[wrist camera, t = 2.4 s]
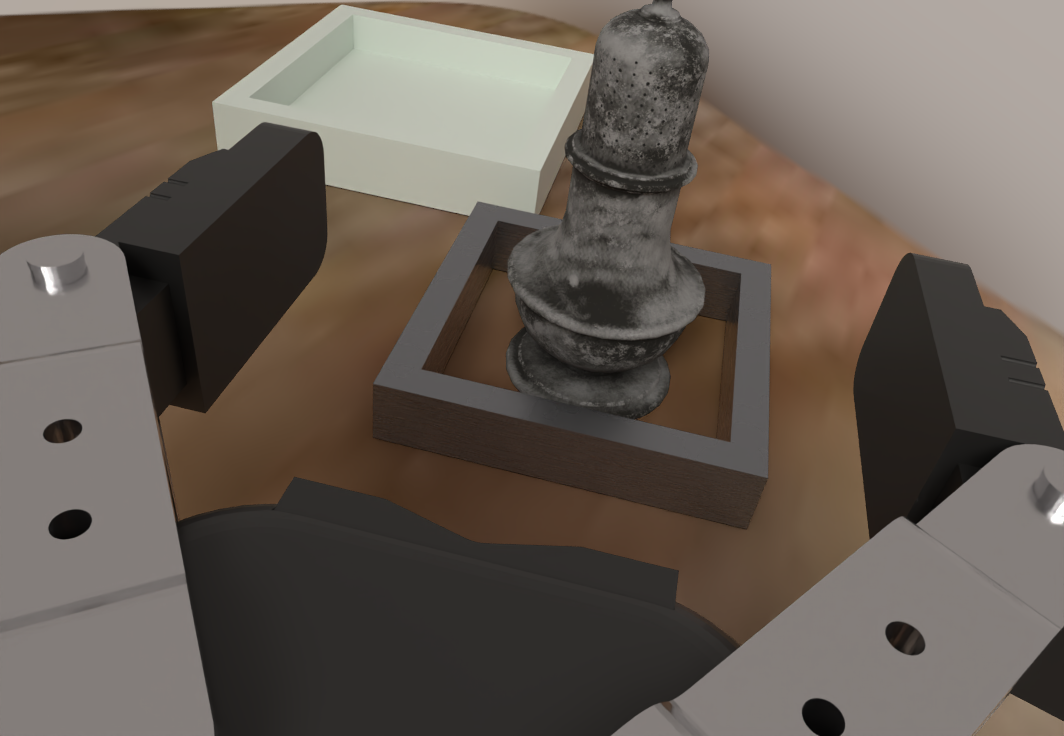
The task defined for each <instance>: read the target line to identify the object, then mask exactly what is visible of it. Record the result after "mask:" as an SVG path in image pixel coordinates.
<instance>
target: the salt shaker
mask: <svg viewBox="0 0 1064 736" xmlns="http://www.w3.org/2000/svg"><path fill="white" fill-rule="evenodd" d="M708 62H709V49H708V46H707V44H706V42H705V39H704V37H703V35H702V33H701V32H700V31H699V30H698V29H697V28H696V27H695V26H694V25H693V24H692V23H690V22H689V21H688V20H686V19H684V18H682V17H681V16H680V14H679V12H678V11H677V10H675V9H673V8H672V0H653V3H652V4H648V5H644V6H643V7H642V8H641V9H634V10H630V11H627V12H624V13H622V14H620V15H618V16H616V17H614V18H613V19H611V20H610V21H609V22H608V23H607V24H606V25H605V26H604V27H603V28H602V30H601V32H600V35H599V37H598V40H597V42H596V46H595V52H594V58H593V64H592V70H591V77H590V83H589V89H588V95H587V101H586V107H585V114H584V120H583V126H582V129H580V130H577V131H576V132H574V133H573V134H572V135H571V136H569V137H568V139H567V141H566V143H565V147H564V148H565V154H566V157H567V158H568V160H569V161H570V163H571V164H572V165H573V170H572V176H571V182H570V189H569V195H568V201H567V207H566V212H565V214H564V217H563V219H562V221H561V223H560V224H558V225H554V226H549V227H545V228H542V229H540V230H538V231H536V232H534V233H532V234H529V235H527V236H526V237H525V238H524V239H523V240H521V241H520V242H519V243H518V244H517V245H516V246H515V247H514V248H513V250H512V252H511V254H510V257H509V259H508V262H507V267H508V279H509V281H510V283H511V285H512V287H513V290H514V292H515V296H516V304H517V307H518V310H519V313H520V316H521V318H522V321H523V323H524V326H525V327H524V328H522V329H521V330H520V331H519V332H518V333H517V334H516V335H515V336H514V337H513V338H512V340H511V342H510V344H509V347H508V349H507V352H506V369H507V372H508V374H509V376H510V379H511V381H512V383H513V384H514V386H515V387H516V388H517V389H518V390H519V391H520V393H524V394H528V395H532V396H536V397H541V398H545V399H549V400H553V401H557V402H562V403H566V404H570V405H574V406H579V407H583V408H587V409H591V410H596V411H600V412H604V413H608V414H612V415H617V416H621V417H625V418H629V419H634V420H635V419H637V418H640V417H643V416H645V415H647V414H648V413H650V412H651V411H652V410H654V409H655V408H657V407H658V406H659V405H660V404H661V402H662V401H663V399H664V398H665V396H666V395H667V393H668V389H669V383H670V377H671V376H670V372H669V368H668V364H667V362H666V360H665V359H664V357H663V354H664V353H665V352H666V351H667V350H668V349H669V348H670V346H671V345H672V344H673V343H674V342H675V341H676V340H677V339H678V337H679V336H680V334H681V333H682V332H683V330H684V329H685V327H686V325H687V324H689V323H690V322H692V321H693V320H694V319H695V318H696V317H697V315H698V314H699V312H700V311H701V309H702V308H703V305H704V299H705V291H706V289H705V286H704V283H703V280H702V277H701V275H700V273H699V272H698V271H697V269H696V268H695V267H694V265H693V264H692V263H691V261H690V260H689V259H688V258H687V257H685V256H684V255H683V254H682V253H680V252H679V251H678V250H677V249H675V248H674V247H672V246H671V245H670V229H671V225H672V221H673V217H674V213H675V209H676V205H677V201H678V197H679V193H680V189H681V187H683V186H685V185H687V184H689V183H690V182H691V181H692V180H693V179H694V177H695V176H696V173H697V167H698V165H697V162H696V160H695V157H694V156H693V155H692V153H691V152H690V151H689V150H688V145H689V141H690V137H691V133H692V129H693V125H694V121H695V116H696V112H697V108H698V104H699V100H700V96H701V92H702V88H703V83H704V80H705V76H706V72H707V68H708Z"/></svg>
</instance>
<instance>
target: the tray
mask: <svg viewBox="0 0 1064 736" xmlns="http://www.w3.org/2000/svg"><path fill="white" fill-rule="evenodd" d="M593 58H594V54H590V53H585V52H580V51H575V50H569V49H564V48H559V47H554V46H549V45H544V44H539V43H534V42H529V41H524V40H519V39H514V38H509V37H504V36H498V35H493V34H488V33H483V32H478V31H473V30H468V29H463V28H458V27H453V26H448V25H443V24H438V23H432V22H427V21H422V20H417V19H412V18H407V17H402V16H397V15H392V14H387V13H382V12H377V11H372V10H366V9H361V8H356V7H351V6H346V5H340V6H339V7H337V8H336V9H335V10H334V11H332V12H331V13H330V14H328V15H327V16H326V17H324V18H323V19H322V20H320V21H319V22H318V23H316V24H315V25H314V26H312V27H311V28H310V29H308V30H307V31H306V32H304V33H303V34H302V35H300V36H299V37H298V38H296V39H295V40H294V41H292V42H291V43H290V44H288V45H287V46H286V47H284V48H283V49H282V50H280V51H279V52H278V53H276V54H275V55H274V56H272V57H271V58H270V59H268V60H267V61H266V62H264V63H263V64H262V65H260V66H259V67H258V68H256V69H255V70H254V71H252V72H251V73H250V74H249V75H247V76H246V77H245V78H243V79H242V80H241V81H239V82H238V83H237V84H235V85H234V86H233V87H231V88H230V89H229V90H227V91H226V92H225V93H223V94H222V95H221V96H219V97H218V98H217V99H215V100H214V101H213V102H212V106H213V114H214V122H215V130H216V139H217V147H218V150H221V149H227V150H229V149H230V148H231V147H232V146H234V145H235V144H236V143H237V142H238V141H240V140H241V139H242V138H243V137H244V136H246V135H247V134H248V133H249V132H250V131H252V130H253V129H254V128H255V127H257V126H258V125H259V124H261V123H263V122H268V123H273V124H278V125H283V126H288V127H293V128H298V129H303V130H308V131H313V132H316V133H318V134H319V136H320V138H321V140H322V143H323V149H324V166H325V184H326V185H330V186H335V187H339V188H344V189H349V190H353V191H358V192H362V193H367V194H371V195H376V196H381V197H385V198H390V199H394V200H399V201H404V202H408V203H413V204H417V205H422V206H427V207H431V208H436V209H440V210H445V211H450V212H454V213H459V214H463V215H468V216H470V214H471V212H472V210H473V209H474V207H475V205H476V203H477V202H478V201H479V202H483V203H488V204H493V205H497V206H502V207H506V208H511V209H516V210H520V211H525V212H530V213H534V214H540V211H541V209H542V207H543V205H544V202H545V200H546V198H547V196H548V193H549V191H550V189H551V187H552V184H553V182H554V180H555V178H556V175H557V173H558V171H559V169H560V167H561V164H562V162H563V160H564V158H565V155H566V154H565V148H564V147H565V143H566V141H567V139H568V137H569V136H571V135H572V134H573V133H574V132H576V131H577V128H578V126H579V124H580V122H581V119H582V117H583V115H584V113H585V107H586V101H587V95H588V89H589V83H590V77H591V70H592V64H593Z"/></svg>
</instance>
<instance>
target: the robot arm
mask: <svg viewBox="0 0 1064 736" xmlns="http://www.w3.org/2000/svg"><path fill="white" fill-rule="evenodd" d="M326 243H327V212H326V189H325V166H324V149H323V143H322V140H321V138H320V136H319V134H318V133H316V132H313V131H308V130H303V129H298V128H293V127H288V126H283V125H278V124H273V123H268V122H263V123H261V124H259V125H258V126H257V127H255V128H254V129H253V130H252V131H250V132H249V133H248V134H247V135H246V136H244V137H243V138H242V139H241V140H240V141H238V142H237V143H236V144H235V145H234V146H232V147H231V148H230V149H229V150H227V149H221V150H218V151H215V152H213V153H210V154H207V155H205V156H202V157H199V158H197V159H194V160H191V161H189V162H188V163H187V164H186V165H184V166H183V167H182V168H181V169H179V170H178V171H177V172H176V173H174V174H173V175H172V176H171V177H169V178H168V183H167V182H163V183H162V184H161V185H159V186H158V187H157V188H156V189H154V190H153V191H152V192H150V197H147V196H145V197H144V198H143V199H142V200H140V201H139V202H138V203H137V204H135V205H134V206H133V207H132V208H130V209H129V210H128V211H127V212H125V213H124V214H123V215H122V216H120V217H119V218H118V219H117V220H115V221H114V222H113V223H112V224H110V225H109V226H108V227H107V228H105V229H104V230H103V231H102V232H100V233H99V234H98V235H96V236H95V237H94V236H89V235H79V234H64V235H53V236H47V237H41V238H37V239H33V240H30V241H27V242H24V243H21V244H19V245H16V246H14V247H12V248H10V249H9V250H7V251H5V252H3V253H2V254H1V255H0V736H975V735H976V733H977V732H978V731H979V730H980V729H981V727H982V726H983V725H984V724H985V723H986V721H987V720H988V719H989V718H990V717H991V715H992V714H993V713H994V712H995V711H996V709H997V708H998V707H999V706H1000V705H1001V703H1002V702H1003V701H1004V700H1005V699H1006V697H1007V696H1008V695H1009V694H1010V693H1011V694H1013V695H1015V696H1016V697H1018V698H1020V699H1022V700H1024V701H1026V702H1028V703H1030V704H1032V705H1034V706H1036V707H1038V708H1039V709H1041V710H1043V711H1045V712H1047V713H1049V714H1051V715H1053V716H1055V717H1057V718H1059V719H1060V720H1062V721H1064V431H1063V428H1062V426H1061V423H1060V421H1059V418H1058V415H1057V413H1056V410H1055V408H1054V405H1053V403H1052V400H1051V398H1050V395H1049V392H1048V391H1047V390H1044V388H1045V382H1044V380H1043V377H1042V374H1041V372H1040V369H1039V368H1036V364H1037V362H1036V359H1035V356H1034V354H1033V351H1032V349H1031V346H1030V344H1029V341H1028V339H1027V336H1026V335H1025V334H1024V333H1023V332H1022V331H1021V330H1020V329H1019V328H1018V327H1017V326H1016V325H1015V324H1014V323H1013V322H1012V321H1011V320H1010V319H1009V318H1008V317H1007V316H1006V315H1005V314H1004V313H1003V312H1002V310H999V309H994V308H989V307H985V306H984V305H983V302H982V299H981V296H980V294H979V291H978V288H977V285H976V282H975V279H974V276H973V273H972V270H971V268H970V267H969V265H967V264H963V263H958V262H953V261H948V260H943V259H938V258H933V257H928V256H923V255H918V254H913V253H908V254H906V255H905V256H904V257H903V258H902V260H901V261H900V263H899V265H898V267H897V269H896V271H895V273H894V276H893V278H892V280H891V282H890V285H889V287H888V289H887V292H886V294H885V296H884V299H883V301H882V303H881V306H880V308H879V310H878V312H877V315H876V317H875V319H874V322H873V324H872V326H871V329H870V331H869V333H868V335H867V338H866V340H865V342H864V345H863V347H862V350H861V353H860V355H859V359H858V362H857V367H856V371H855V377H854V390H853V391H854V402H855V411H856V420H857V429H858V438H859V447H860V456H861V465H862V474H863V483H864V492H865V501H866V510H867V519H868V528H869V537H870V540H869V541H868V542H867V543H865V544H864V545H863V546H862V547H860V548H859V549H858V550H857V551H856V552H854V553H853V554H852V555H851V556H850V557H848V558H847V559H846V560H845V561H844V562H842V563H841V564H840V565H839V566H837V567H836V568H835V569H834V570H833V571H831V572H830V573H829V574H828V575H827V576H825V577H824V578H823V579H822V580H820V581H819V582H818V583H817V584H816V585H814V586H813V587H812V588H811V589H810V590H808V591H807V592H806V593H805V594H803V595H802V596H801V597H800V598H799V599H797V600H796V601H795V602H794V603H793V604H791V605H790V606H789V607H788V608H787V609H785V610H784V611H783V612H782V613H780V614H779V615H778V616H777V617H776V618H774V619H773V620H772V621H771V622H770V623H768V624H767V625H766V626H765V627H763V628H762V629H761V630H760V631H759V632H757V633H756V634H755V635H754V636H753V637H751V638H750V639H749V640H748V641H746V642H745V643H744V644H743V645H742V646H740V645H739V644H738V643H737V642H736V641H735V640H734V639H733V638H731V637H730V636H729V635H727V634H726V633H725V632H723V631H722V630H721V629H720V628H718V627H717V626H716V625H714V624H713V623H712V622H710V621H708V620H707V619H705V618H704V617H702V616H700V615H699V614H697V613H696V612H694V611H692V610H691V609H689V608H687V607H685V606H683V605H681V604H679V603H677V602H675V599H676V590H677V581H678V572H679V571H678V570H674V569H670V568H665V567H661V566H657V565H653V564H649V563H645V562H641V561H637V560H633V559H629V558H625V557H620V556H616V555H612V554H608V553H604V552H600V551H596V550H592V549H588V548H584V547H572V546H544V545H516V544H489V543H478V542H474V541H471V540H468V539H466V538H464V537H462V536H460V535H458V534H455V533H453V532H451V531H449V530H447V529H445V528H443V527H441V526H439V525H437V524H435V523H433V522H431V521H429V520H427V519H425V518H423V517H421V516H419V515H417V514H415V513H413V512H411V511H409V510H407V509H405V508H403V507H401V506H399V505H396V504H394V503H392V502H390V501H388V500H386V499H383V498H379V497H375V496H371V495H367V494H363V493H359V492H354V491H350V490H346V489H342V488H338V487H334V486H330V485H326V484H322V483H318V482H314V481H309V480H305V479H301V478H297V477H294V478H293V480H292V481H291V483H290V485H289V486H288V488H287V489H286V491H285V493H284V494H283V496H282V498H281V499H280V501H279V502H278V504H257V505H242V506H236V507H230V508H223V509H218V510H214V511H210V512H206V513H202V514H198V515H195V516H192V517H189V518H186V519H183V520H180V519H179V514H178V509H177V504H176V499H175V494H174V489H173V484H172V479H171V474H170V469H169V464H168V459H167V454H166V449H165V444H164V439H163V434H162V429H161V424H160V420H159V416H160V415H161V414H162V413H163V411H164V410H165V409H166V408H167V407H168V406H169V405H173V406H177V407H181V408H185V409H190V410H194V411H198V412H202V413H206V412H207V411H208V409H209V408H210V407H211V406H212V404H213V403H214V402H215V401H216V399H217V398H218V397H219V396H220V394H221V393H222V392H223V391H224V389H225V388H226V387H227V386H228V384H229V383H230V382H231V380H232V379H233V378H234V377H235V375H236V374H237V373H238V372H239V370H240V369H241V368H242V367H243V365H244V364H245V363H246V362H247V360H248V359H249V358H250V357H251V355H252V354H253V353H254V352H255V350H256V349H257V348H258V346H259V345H260V344H261V343H262V341H263V340H264V339H265V338H266V336H267V335H268V334H269V333H270V331H271V330H272V329H273V328H274V326H275V325H276V324H277V323H278V321H279V320H280V319H281V317H282V316H283V315H284V314H285V312H286V311H287V310H288V309H289V307H290V306H291V305H292V304H293V302H294V301H295V300H296V299H297V297H298V296H299V295H300V294H301V292H302V291H303V290H304V289H305V287H306V286H307V285H308V283H309V282H310V281H311V280H312V278H313V277H314V276H315V275H316V273H317V272H318V270H319V268H320V266H321V263H322V260H323V258H324V254H325V249H326Z"/></svg>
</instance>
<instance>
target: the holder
mask: <svg viewBox="0 0 1064 736" xmlns="http://www.w3.org/2000/svg"><path fill="white" fill-rule="evenodd" d="M561 221H562V219H557V218H553V217H548V216H544V215H539V214H534V213H530V212H525V211H520V210H516V209H511V208H506V207H502V206H497V205H493V204H488V203H483V202H479V201H478V202H477V203H476V205H475V207H474V209H473V210H472V212H471V214H470V216H469V217H468V219H467V221H466V223H465V224H464V226H463V228H462V230H461V231H460V233H459V235H458V236H457V238H456V240H455V242H454V243H453V245H452V247H451V249H450V250H449V252H448V254H447V256H446V257H445V259H444V261H443V263H442V264H441V266H440V268H439V270H438V271H437V273H436V275H435V277H434V278H433V280H432V282H431V284H430V285H429V287H428V289H427V291H426V292H425V294H424V296H423V298H422V299H421V301H420V303H419V305H418V306H417V308H416V310H415V311H414V313H413V315H412V317H411V318H410V320H409V322H408V324H407V325H406V327H405V329H404V331H403V332H402V334H401V336H400V338H399V339H398V341H397V343H396V345H395V346H394V348H393V350H392V352H391V353H390V355H389V357H388V359H387V360H386V362H385V364H384V366H383V367H382V369H381V371H380V373H379V374H378V376H377V378H376V380H375V381H374V383H373V438H377V439H381V440H385V441H389V442H393V443H397V444H401V445H405V446H410V447H414V448H418V449H422V450H426V451H430V452H434V453H438V454H442V455H446V456H450V457H454V458H458V459H463V460H467V461H471V462H475V463H479V464H483V465H487V466H491V467H495V468H499V469H503V470H507V471H511V472H516V473H520V474H524V475H528V476H532V477H536V478H540V479H544V480H548V481H552V482H556V483H560V484H564V485H569V486H573V487H577V488H581V489H585V490H589V491H593V492H597V493H601V494H605V495H609V496H613V497H617V498H621V499H626V500H630V501H634V502H638V503H642V504H646V505H650V506H654V507H658V508H662V509H666V510H670V511H674V512H679V513H683V514H687V515H691V516H695V517H699V518H703V519H707V520H711V521H715V522H719V523H723V524H727V525H732V526H736V527H740V528H744V529H747V527H748V525H749V522H750V520H751V517H752V515H753V513H754V510H755V508H756V505H757V503H758V501H759V498H760V496H761V494H762V491H763V489H764V486H765V484H766V482H767V479H768V442H769V373H770V304H771V265H770V264H766V263H761V262H756V261H752V260H747V259H743V258H738V257H733V256H729V255H724V254H719V253H715V252H710V251H706V250H701V249H696V248H692V247H687V246H682V245H678V244H673V243H670V245H671V246H672V247H674V248H675V249H677V250H678V251H679V252H680V253H682V254H683V255H684V256H685V257H687V258H688V259H689V260H690V261H691V263H692V264H693V265H694V267H695V268H696V269H697V271H698V272H699V273H700V275H701V277H702V280H703V283H704V286H705V289H706V291H705V299H704V305H703V308H702V309H701V311H700V312H699V314H698V315H702V316H707V317H711V318H716V319H720V320H725V321H726V329H725V341H724V353H723V365H722V377H721V389H720V401H719V413H718V425H717V437H716V439H714V438H710V437H706V436H701V435H697V434H693V433H689V432H684V431H680V430H676V429H672V428H667V427H663V426H659V425H655V424H651V423H646V422H642V421H638V420H634V419H629V418H625V417H621V416H617V415H612V414H608V413H604V412H600V411H596V410H591V409H587V408H583V407H579V406H574V405H570V404H566V403H562V402H557V401H553V400H549V399H545V398H541V397H536V396H532V395H528V394H524V393H519V392H515V391H511V390H507V389H502V388H498V387H494V386H490V385H486V384H481V383H477V382H473V381H469V380H464V379H460V378H456V377H452V376H447V375H443V374H442V373H443V371H444V369H445V367H446V365H447V363H448V361H449V359H450V356H451V354H452V352H453V350H454V348H455V346H456V344H457V342H458V340H459V338H460V336H461V334H462V332H463V330H464V327H465V325H466V323H467V321H468V319H469V317H470V315H471V313H472V311H473V309H474V307H475V305H476V303H477V301H478V298H479V296H480V294H481V292H482V290H483V288H484V286H485V284H486V282H487V280H488V278H489V276H490V274H491V272H492V269H496V270H501V271H505V272H508V267H507V262H508V259H509V257H510V254H511V252H512V250H513V248H514V247H515V246H516V245H517V244H518V243H519V242H520V241H521V240H523V239H524V238H525V237H526V236H527V235H529V234H532V233H534V232H536V231H538V230H540V229H542V228H545V227H549V226H554V225H558V224H560V223H561Z"/></svg>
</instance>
